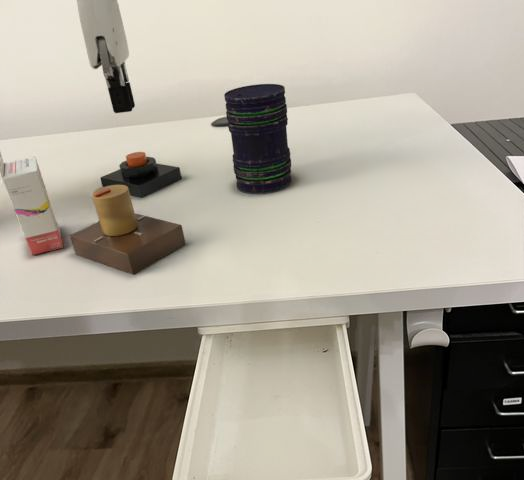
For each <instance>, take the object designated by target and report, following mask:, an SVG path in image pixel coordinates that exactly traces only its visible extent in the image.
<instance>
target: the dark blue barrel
mask: <svg viewBox="0 0 524 480" xmlns="http://www.w3.org/2000/svg"><path fill="white" fill-rule="evenodd" d="M285 94H286V88H285V86H284V85H282V84H277V83H259V84H258V83H257V84H251V85H245V86H240V87H239V86H238V87H235V88H233V89H230V90H228V91H226V92H225V93H224V94H223V96H224V101H225V110H226V111H225V114H226V120H227V128H228V132H230V137H231V144H232V150H233V151H232V152H233V154H232V164H233V173H234V175H235V179H236V188H237V190H238V191H240V192H242V193H245V194H248V195H249V194H250V195H263V194H271V193H276V192H279V191H282V190H284V189H286V188H288V187H290V185H291V184H292V182H293V177H292V175H291V174H292V158H291V149H290V147H289V144H288V132H287V127H288V124H289V123H288V120H289V118H288V114H287V113H288V105H287V103H286V102H287V99H286V96H285Z"/></svg>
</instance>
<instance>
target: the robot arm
mask: <svg viewBox="0 0 524 480" xmlns="http://www.w3.org/2000/svg"><path fill="white" fill-rule="evenodd" d="M76 4H77V12H78V16H79V21H80V26H81V32H82V35H83V41H84V45H85V49H86V54H87V58H88V62H89V66H90V67H91V68H92V69H93V70H98V69H99V68H100V67H102V73H103V76H104V79H105V82H106V87H107V91H108V94H109V98H110V102H111V106H112V112H113V113H114V114H121V113H130V112H132V111H133V109H134V108H135V106H136V104H135V99H134V95H133V91H132V87H131V83H130V81H129V80H130V79H129V75H128V74H129V73H128V70H127V65H126V61H127V60H128V58H129V56H130V50H129V44H128V40H127V35H126V30H125V27H124V23H123V19H122V18H123V17H122V14H121V10H120V5H119V3H118V0H76Z"/></svg>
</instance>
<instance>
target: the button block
mask: <svg viewBox="0 0 524 480" xmlns="http://www.w3.org/2000/svg"><path fill="white" fill-rule="evenodd" d="M146 158H147V162H148V163H146V164H144V165H140V166H133V167H130V166H128V164H127V160H126V159H125V161H122V162H120V164H119V165H118V167H119V169H117V170H114V171H112V172H110V173H108V174H105V175H102V176H100V177H99V179H100V182H101V186H102V187H106V186H110V185H125V186H127V187H128V189H129V193H130V196H131V197H137V198H141V199H142V198H144V197H147V196H148V195H151V194H153V193H155V192H157V191H159V190H161V189H164V188H165V187H168V186H170V185H172V184H175V183H176V182H178V181H180V180H182V179H183V178H182V173H181V168H180V166H174V165H169V164H163V163H158V162H157V160H156V158H155V157H152V156H146Z"/></svg>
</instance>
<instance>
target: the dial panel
mask: <svg viewBox="0 0 524 480" xmlns="http://www.w3.org/2000/svg"><path fill="white" fill-rule="evenodd" d="M135 216H136V220H137V224H138V226H137V228H136V229H135V230H134V231H132V232H130V233H127V234H124V235H119V236H108V235H105V234H104V233H103V231H102V228H101V225H100V221H99V220H98V222H95V223H93V224H91V225H88V226H86V227H84V228H82V229H80V230H78V231H76V232H74V233H72V234H69V239H70V242H71V244H72V248H73V251H74V254H75V255H76V256H79V257H83V258H85V259H87V260H91V261H93V262H97V263H98V264H102V265H105V266H109V267H110V268H113V269H116V270H119V271H122V272H125V273H128V274H131V275H135V274H137V273H138V272H140V271H142V270H144V269H145V268H147V267H149V266H151V265H152V264H154V263H155V262H157V261H159V260H161V259H163V258H164V257H166V256H168V255H170V254H171V253H173V252H175V251H176V250H178V249H180V248H182V247H183V246H185V245H186V239H185V233H184V229H183V225H182V224H179V223H176V222H171V221H167V220H164V219H160V218H157V217H152V216H148V215H143V214H139V213H136V212H135Z"/></svg>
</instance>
